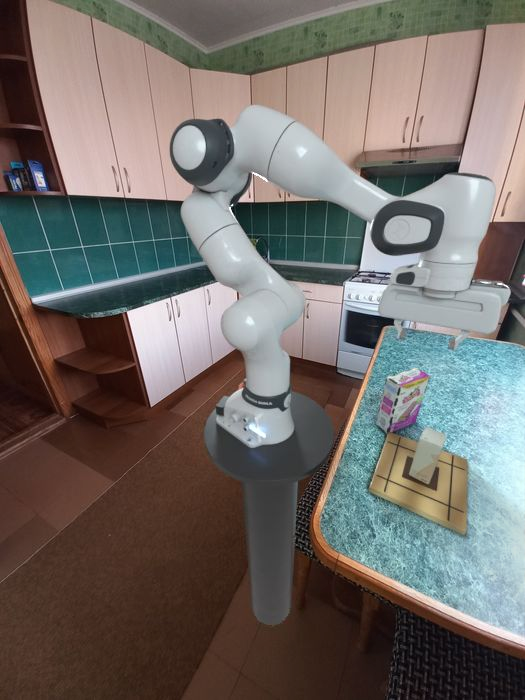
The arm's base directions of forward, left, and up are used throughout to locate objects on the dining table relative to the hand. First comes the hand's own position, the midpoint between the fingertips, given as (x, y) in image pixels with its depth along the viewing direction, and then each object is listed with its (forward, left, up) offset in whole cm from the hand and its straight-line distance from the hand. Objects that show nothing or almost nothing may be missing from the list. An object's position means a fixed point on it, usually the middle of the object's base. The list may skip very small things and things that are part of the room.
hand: (425, 343), depth 59 cm
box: (+6, -5, -30) cm, 31 cm away
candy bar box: (-2, +11, -31) cm, 33 cm away
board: (+6, -5, -31) cm, 32 cm away
